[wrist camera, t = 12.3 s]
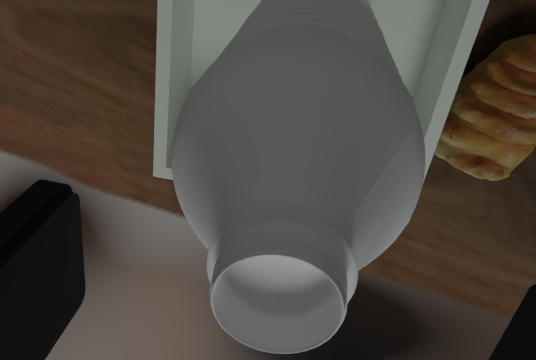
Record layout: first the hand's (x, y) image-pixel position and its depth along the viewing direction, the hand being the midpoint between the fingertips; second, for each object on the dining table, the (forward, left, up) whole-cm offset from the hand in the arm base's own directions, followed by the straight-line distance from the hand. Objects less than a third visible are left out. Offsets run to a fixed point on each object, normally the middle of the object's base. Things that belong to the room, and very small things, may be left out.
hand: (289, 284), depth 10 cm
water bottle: (0, 0, -23) cm, 23 cm away
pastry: (-12, +3, -25) cm, 28 cm away
